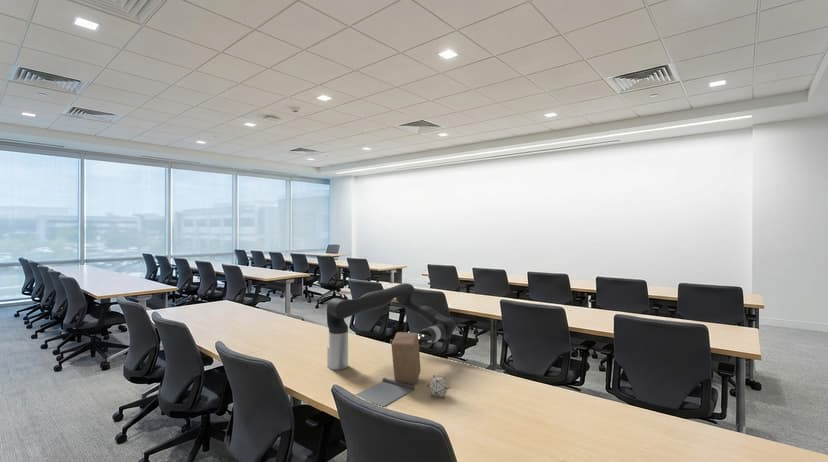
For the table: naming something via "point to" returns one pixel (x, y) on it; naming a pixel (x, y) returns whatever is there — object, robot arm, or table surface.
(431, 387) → the grey spiky star polyhedron
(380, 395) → the mat
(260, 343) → the table surface
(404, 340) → the wooden block
